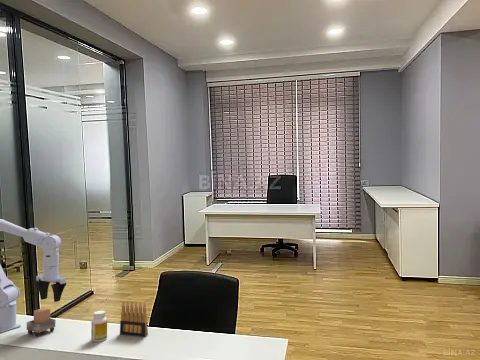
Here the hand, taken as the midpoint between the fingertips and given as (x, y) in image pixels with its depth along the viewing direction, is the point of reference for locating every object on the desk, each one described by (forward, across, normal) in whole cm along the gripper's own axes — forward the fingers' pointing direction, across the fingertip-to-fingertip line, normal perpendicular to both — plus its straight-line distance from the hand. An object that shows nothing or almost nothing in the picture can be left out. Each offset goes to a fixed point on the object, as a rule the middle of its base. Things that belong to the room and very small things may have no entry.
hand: (50, 300), depth 151 cm
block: (+8, +2, -6) cm, 10 cm away
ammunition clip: (+11, +36, +7) cm, 38 cm away
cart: (+10, +2, -6) cm, 12 cm away
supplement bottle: (+11, +28, -1) cm, 30 cm away
